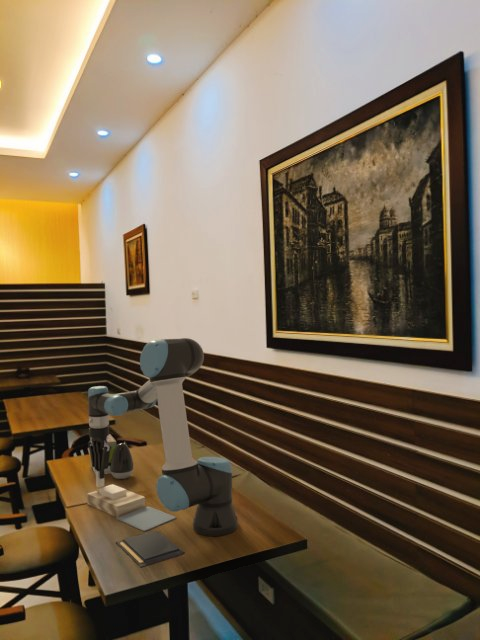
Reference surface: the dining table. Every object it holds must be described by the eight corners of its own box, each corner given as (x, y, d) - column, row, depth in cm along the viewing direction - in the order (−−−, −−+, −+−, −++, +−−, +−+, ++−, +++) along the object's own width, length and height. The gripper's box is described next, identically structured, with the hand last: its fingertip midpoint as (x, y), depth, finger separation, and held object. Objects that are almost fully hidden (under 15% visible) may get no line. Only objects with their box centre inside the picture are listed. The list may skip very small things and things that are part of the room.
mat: (176, 518, 178) (176, 517, 178) (144, 531, 168) (144, 530, 168) (148, 507, 189) (148, 506, 189) (116, 519, 178) (116, 517, 178)
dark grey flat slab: (186, 549, 152) (138, 564, 144) (186, 556, 152) (138, 570, 144) (158, 526, 169) (114, 538, 160) (159, 532, 169) (114, 544, 160)
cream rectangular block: (126, 494, 191) (126, 489, 191) (112, 499, 187) (112, 493, 187) (112, 489, 197) (112, 484, 197) (99, 493, 193) (99, 488, 193)
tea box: (90, 466, 240) (89, 435, 239) (111, 463, 244) (111, 433, 244) (95, 476, 226) (94, 443, 226) (117, 472, 230) (117, 440, 230)
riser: (145, 507, 188) (144, 497, 188) (117, 517, 179) (117, 506, 179) (114, 495, 202) (114, 485, 202) (87, 504, 193) (87, 493, 193)
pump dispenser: (136, 473, 228) (136, 440, 228) (129, 481, 218) (129, 446, 218) (115, 473, 229) (114, 440, 229) (106, 481, 219) (106, 446, 219)
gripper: (81, 425, 199) (82, 485, 199) (99, 430, 190) (101, 492, 190) (98, 422, 204) (99, 480, 205) (116, 426, 195) (118, 487, 196)
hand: (100, 486), depth 197 cm, fingers closed
